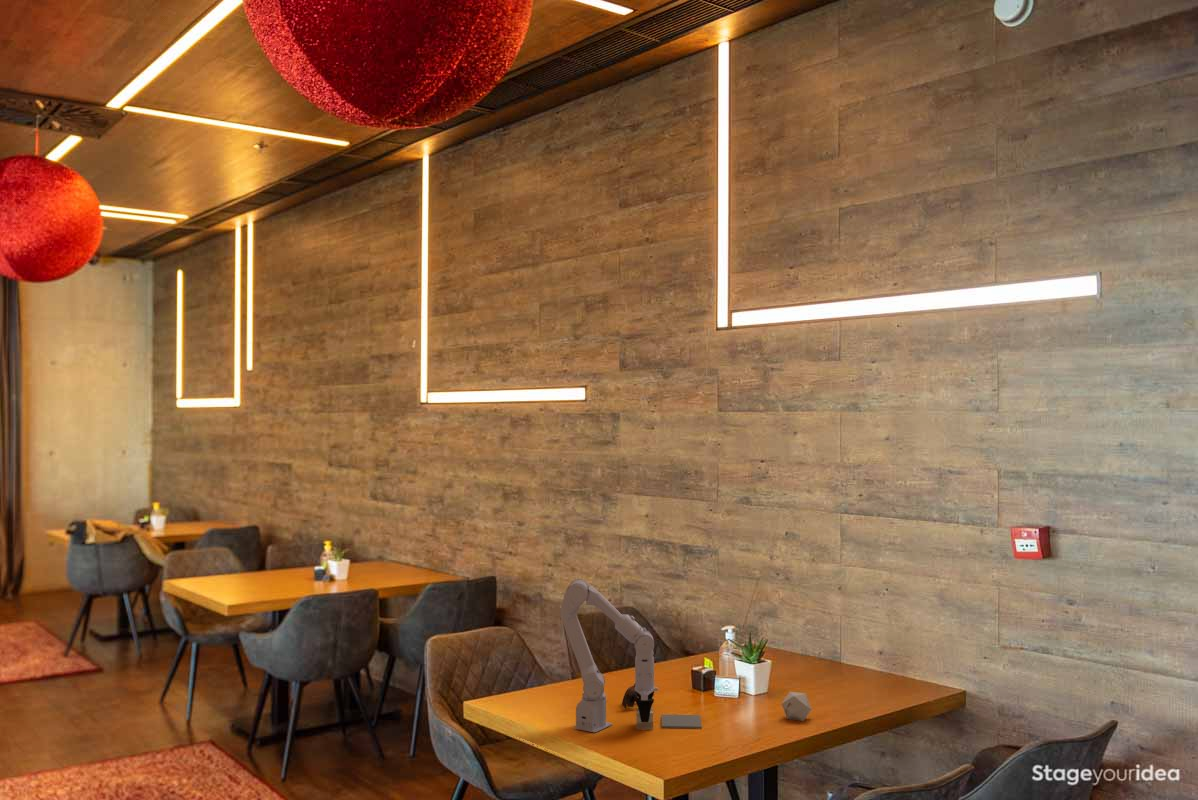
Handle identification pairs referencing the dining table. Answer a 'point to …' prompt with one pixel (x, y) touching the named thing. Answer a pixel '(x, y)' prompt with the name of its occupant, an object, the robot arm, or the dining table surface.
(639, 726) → the cream block
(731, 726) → the dining table surface
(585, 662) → the robot arm
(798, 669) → the dining table surface
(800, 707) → the die
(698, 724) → the slate mat
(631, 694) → the dark brown looped arch
